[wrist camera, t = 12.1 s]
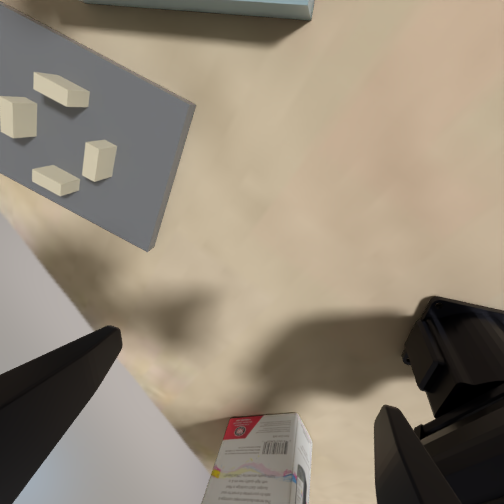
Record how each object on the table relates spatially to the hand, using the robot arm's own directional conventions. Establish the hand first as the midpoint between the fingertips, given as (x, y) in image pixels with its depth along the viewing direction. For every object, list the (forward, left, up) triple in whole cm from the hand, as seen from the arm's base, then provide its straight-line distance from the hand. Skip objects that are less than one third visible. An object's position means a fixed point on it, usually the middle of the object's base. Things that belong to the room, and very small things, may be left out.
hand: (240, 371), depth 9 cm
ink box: (-2, +24, -13) cm, 28 cm away
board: (+17, -4, -13) cm, 22 cm away
